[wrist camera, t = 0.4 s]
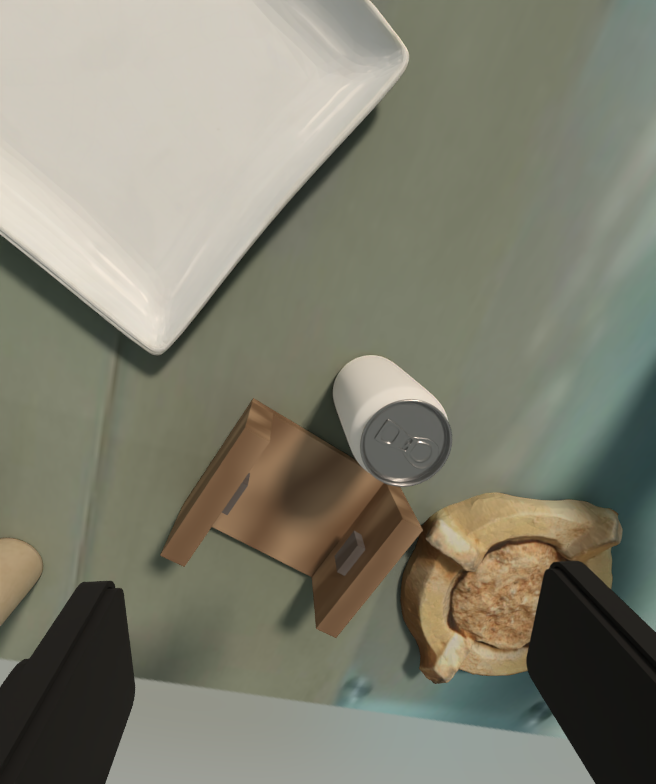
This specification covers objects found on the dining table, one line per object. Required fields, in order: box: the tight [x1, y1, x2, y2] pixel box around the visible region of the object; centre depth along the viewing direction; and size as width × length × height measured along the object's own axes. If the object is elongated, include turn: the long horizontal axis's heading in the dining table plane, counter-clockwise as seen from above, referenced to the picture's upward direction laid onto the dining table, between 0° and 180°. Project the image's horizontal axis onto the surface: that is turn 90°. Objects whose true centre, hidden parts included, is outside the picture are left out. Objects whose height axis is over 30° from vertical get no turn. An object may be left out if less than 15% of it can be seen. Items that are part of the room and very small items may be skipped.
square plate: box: [0, 0, 409, 356], centre depth 27 cm, size 27×27×4 cm
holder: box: [160, 398, 423, 638], centre depth 35 cm, size 16×12×7 cm
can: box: [333, 355, 452, 487], centre depth 30 cm, size 6×6×12 cm
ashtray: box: [401, 493, 623, 684], centre depth 41 cm, size 24×24×5 cm
